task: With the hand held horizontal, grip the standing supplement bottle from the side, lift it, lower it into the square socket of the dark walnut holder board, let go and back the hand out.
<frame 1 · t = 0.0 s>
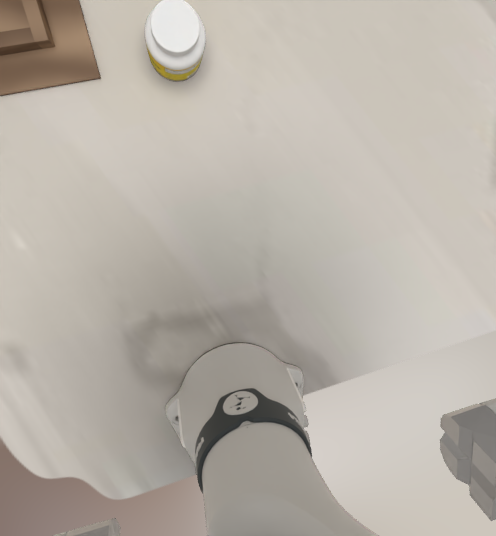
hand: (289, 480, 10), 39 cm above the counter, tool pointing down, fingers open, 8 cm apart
supplement bottle: (175, 55, 41), on the counter
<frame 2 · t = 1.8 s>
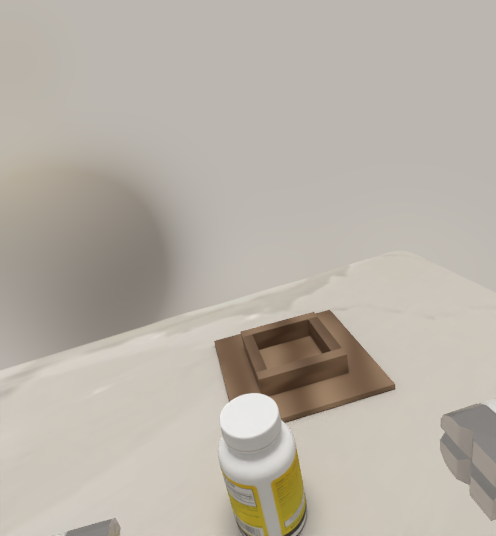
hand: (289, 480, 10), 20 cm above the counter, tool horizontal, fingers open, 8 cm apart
supplement bottle: (271, 514, 30), on the counter
walnut can holder: (292, 363, 45), on the counter
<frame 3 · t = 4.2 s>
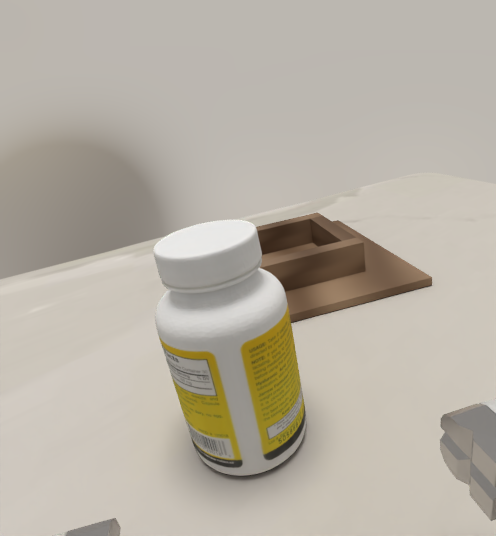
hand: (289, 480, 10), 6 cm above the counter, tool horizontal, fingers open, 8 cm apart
supplement bottle: (250, 432, 19), on the counter
walnut can holder: (289, 270, 34), on the counter
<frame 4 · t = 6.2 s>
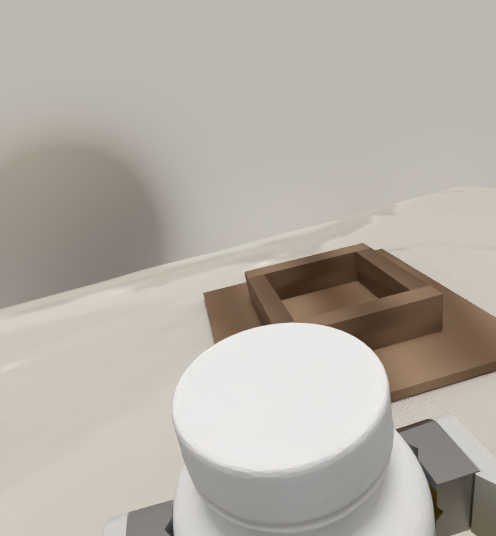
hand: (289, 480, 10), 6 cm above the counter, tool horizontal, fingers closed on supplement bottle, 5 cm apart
walnut can holder: (333, 321, 27), on the counter
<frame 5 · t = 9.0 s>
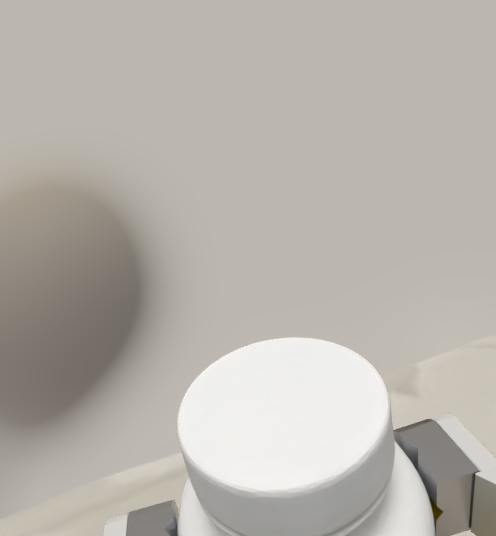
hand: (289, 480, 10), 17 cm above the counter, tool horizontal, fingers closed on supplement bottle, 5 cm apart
when the fingers open (8 cm above the counter, at t = 11.6 s): supplement bottle stays where it is, resting on walnut can holder.
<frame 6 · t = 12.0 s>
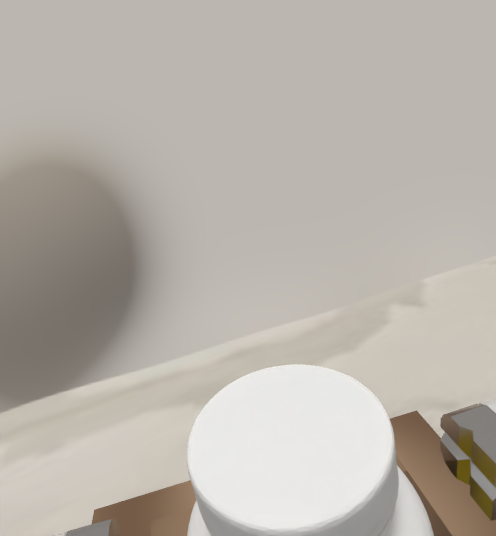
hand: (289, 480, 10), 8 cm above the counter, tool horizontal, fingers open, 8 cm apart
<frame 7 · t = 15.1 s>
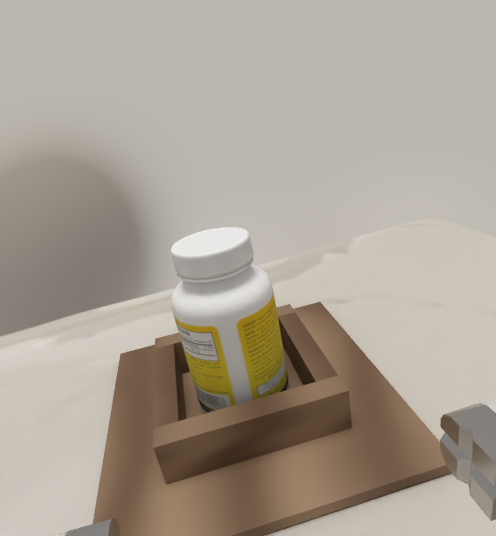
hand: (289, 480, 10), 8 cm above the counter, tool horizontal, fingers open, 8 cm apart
supplement bottle: (245, 396, 23), resting on walnut can holder
walnut can holder: (245, 401, 24), on the counter
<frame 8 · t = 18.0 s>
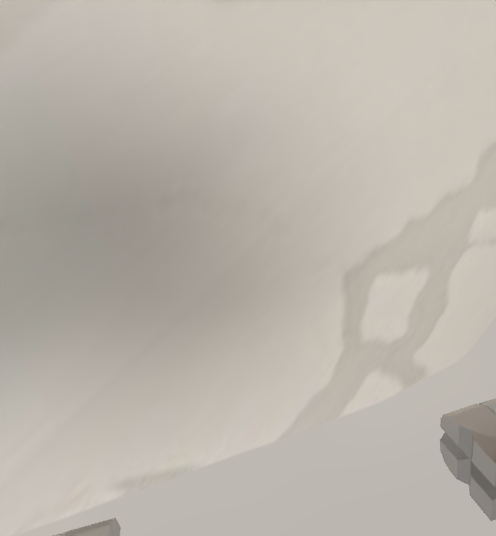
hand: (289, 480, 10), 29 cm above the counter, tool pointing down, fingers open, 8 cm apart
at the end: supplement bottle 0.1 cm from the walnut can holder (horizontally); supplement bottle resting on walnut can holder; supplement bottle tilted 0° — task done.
